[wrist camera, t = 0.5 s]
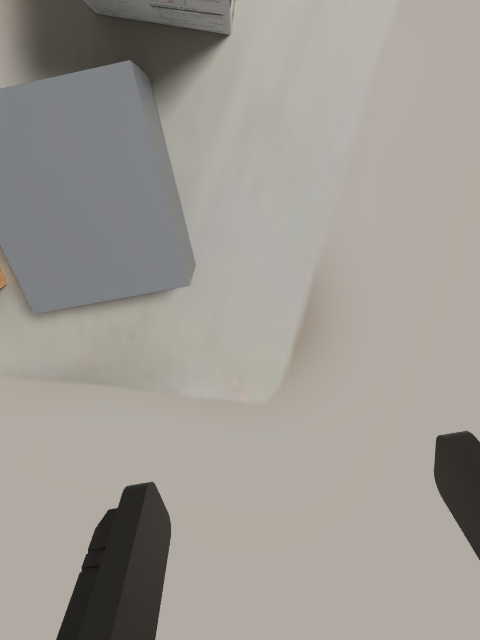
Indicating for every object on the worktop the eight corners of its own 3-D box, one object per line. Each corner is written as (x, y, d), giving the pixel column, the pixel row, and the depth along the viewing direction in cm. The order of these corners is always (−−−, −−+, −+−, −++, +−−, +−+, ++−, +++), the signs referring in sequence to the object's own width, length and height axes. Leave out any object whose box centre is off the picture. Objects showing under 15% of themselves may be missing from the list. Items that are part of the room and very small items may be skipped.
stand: (-15, 112, 29) (-70, 104, 24) (149, 76, 28) (130, 60, 23) (62, 289, 36) (33, 314, 31) (195, 264, 35) (189, 285, 30)
